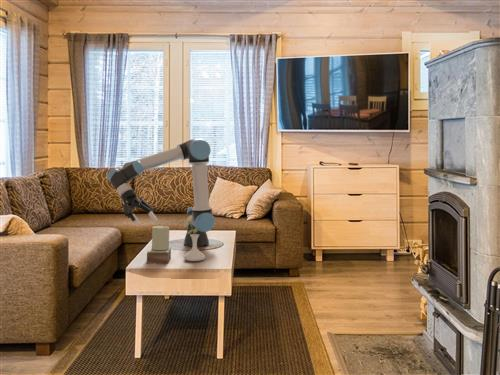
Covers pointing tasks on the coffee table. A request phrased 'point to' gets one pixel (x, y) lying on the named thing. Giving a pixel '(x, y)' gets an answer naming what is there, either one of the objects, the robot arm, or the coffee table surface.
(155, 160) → the robot arm
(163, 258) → the brown square box
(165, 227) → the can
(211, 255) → the coffee table surface
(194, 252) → the flower in vase
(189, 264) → the coffee table surface
